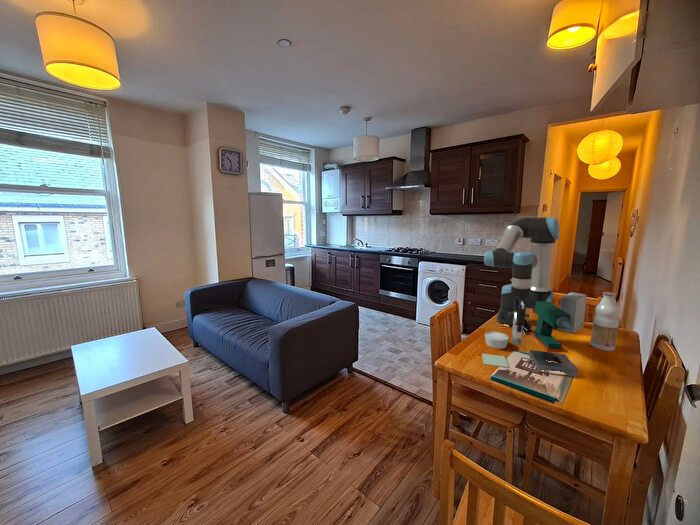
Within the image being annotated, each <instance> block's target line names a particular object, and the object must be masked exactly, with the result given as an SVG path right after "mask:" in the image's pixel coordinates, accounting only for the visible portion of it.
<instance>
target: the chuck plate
mask: <svg viewBox="0 0 700 525" xmlns="http://www.w3.org/2000/svg"><path fill="white" fill-rule="evenodd" d="M529 356H530V357H529ZM528 357H529V359H530V358H531V359H532V361H533V362H534V364H535V366H536V368H537V370H551V371H560V372H564V373H566V374H567V375H569V376H571V378H577V375H578V368H577V367H576V366H575V365H574V363H573V362H572V360H570V358H569V357H568V356H567V354H565V353H561V352H553V351H541V350H534V349H529V354H528ZM531 359H530V360H531ZM546 360H547V361H546ZM532 361H531V362H532ZM548 361H556V362H558V363H555V362H548ZM536 368H535V369H536ZM537 370H536V371H537ZM569 376H568V377H569Z"/></svg>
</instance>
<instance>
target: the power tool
mask: <svg viewBox="0 0 700 525" xmlns="http://www.w3.org/2000/svg"><path fill="white" fill-rule="evenodd" d="M534 313H535V314H536V315H537V316H538V318H537V322H536V326H535V329H533V333H532V336H531V337H533V339H535V340H536V341H537V343H539V344H540V345H541V346H542V347H543V348H544V349H545V351H546V352H552V353H563V349H562V344H561V343H560V342H559V341H558V340H557V339H556V338H555V337H554V336H553V335H552V334H553V331H554V330H558V328H561V329H572V330H573V328H572V327H571V321H570V320H571V315H569V314H567V313H566V312H564V311H563V310H561V309H560V307H558V306H557V305H556V304H553V302H552V303H550V302H542V301H536V305H535V309H534Z"/></svg>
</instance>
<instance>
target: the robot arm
mask: <svg viewBox="0 0 700 525" xmlns="http://www.w3.org/2000/svg"><path fill="white" fill-rule="evenodd" d="M559 223H560V222H559V219H558V218H557V217H548V216H547V217H522V218H518V219H517V220H514V221H512V222H511V223H509V224H508V225H506V227H505V229H504V230H503V235H502V236H501V238H500V240H499V242H498V243H497V245H496V247H495V248H494V249H493V250H489V251H486V252H485V253H484V257H483V262H484V265H485V266H489V267H492V268H505V269H512V271H511V273H512V274H511V279H509V280H510V281H511V283H510V284H505V285H503V286H502V288H501V292H500V293H501V294H500V308H499V310H498V312H497V314H496V321H497V322H499V323H502V324H504V325H509V326H510V325H511V326H513V325H512V324H513V316H509V315H508V312H512V313H514V311H517V320H516V323H515V338H520V339H522V340H523V330H522V328H523V329H524V326H525V322H526V321H525V320H526V318H525V313H526V310H527V309H532V310H535V305H536V301H542V302H550V303H552V304H553V300H554V295H555V292H553V291H552V288H551V287H550V285H549V280H550V269H551V260H552V259H551V257H552V247H553V245H554V244H555V243H556V241H557V240H560V224H559ZM521 239H530V243H531V244H532V246H533V247H532V252H529V251H516V252H513V250H514V248H515V246H516V245H517V243H518V241H520V240H521Z"/></svg>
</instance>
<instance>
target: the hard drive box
mask: <svg viewBox="0 0 700 525" xmlns="http://www.w3.org/2000/svg"><path fill="white" fill-rule="evenodd" d="M586 302H587V294H583V293H578V292H574V291H573V292H572V291H571V292H569V293H567V294H564V295H562V296H561V298H560V306H559V308H560V309H561V310H563V311H564V312H566V313H567V314H569V315H571V320H570V321H571V327H572V328H573V330H572V329H561V328H557V330H559V331H562V332H566V333H569V334H574V333H575V332H576V333H577V331H579V330H581V329H582V328H584V324H585V316H586V315H585V314H586V305H587V304H586Z"/></svg>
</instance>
